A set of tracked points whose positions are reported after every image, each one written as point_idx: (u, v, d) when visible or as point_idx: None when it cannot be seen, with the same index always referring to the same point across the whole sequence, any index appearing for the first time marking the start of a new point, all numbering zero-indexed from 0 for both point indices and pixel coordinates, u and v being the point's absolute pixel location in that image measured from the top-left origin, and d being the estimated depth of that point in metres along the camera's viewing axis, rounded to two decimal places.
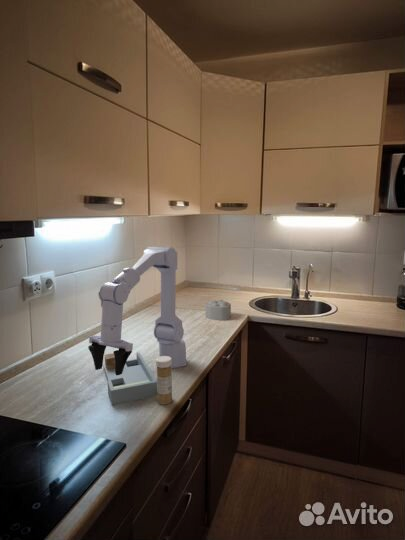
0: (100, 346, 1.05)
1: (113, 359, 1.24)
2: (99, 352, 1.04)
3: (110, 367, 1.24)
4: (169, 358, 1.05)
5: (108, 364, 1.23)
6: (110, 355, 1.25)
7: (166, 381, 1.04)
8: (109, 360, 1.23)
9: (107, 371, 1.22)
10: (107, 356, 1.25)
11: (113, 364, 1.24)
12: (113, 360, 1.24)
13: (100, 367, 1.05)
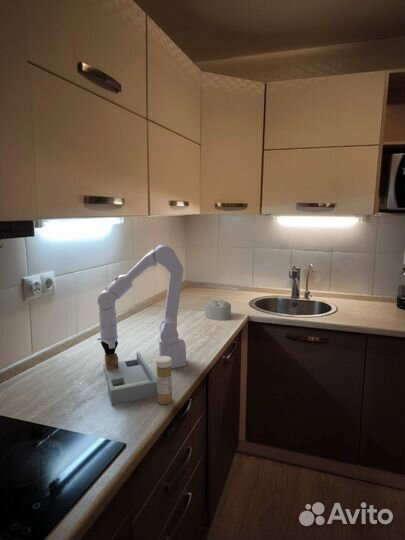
0: None
1: (113, 359, 1.24)
2: (108, 347, 1.28)
3: (110, 367, 1.24)
4: (169, 358, 1.05)
5: (108, 364, 1.23)
6: (110, 356, 1.25)
7: (166, 381, 1.04)
8: (109, 360, 1.23)
9: (107, 371, 1.22)
10: (107, 357, 1.24)
11: (113, 364, 1.24)
12: (113, 360, 1.24)
13: None
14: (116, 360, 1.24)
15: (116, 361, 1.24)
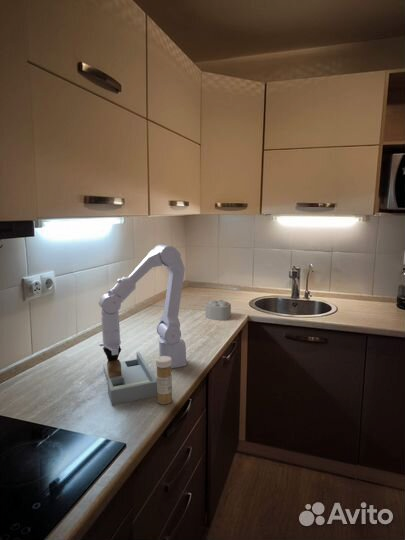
0: None
1: (116, 366, 1.18)
2: (111, 353, 1.22)
3: (113, 375, 1.18)
4: (169, 358, 1.05)
5: (110, 371, 1.18)
6: (112, 362, 1.20)
7: (166, 381, 1.04)
8: (112, 367, 1.18)
9: (107, 371, 1.22)
10: (109, 363, 1.19)
11: (116, 372, 1.18)
12: (116, 367, 1.18)
13: None
14: (119, 367, 1.18)
15: (119, 368, 1.19)
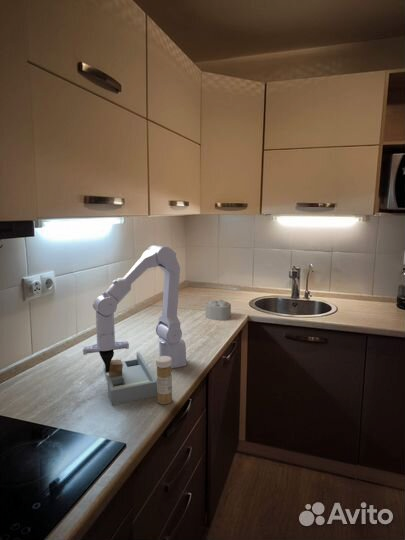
0: None
1: (117, 366, 1.18)
2: None
3: (113, 374, 1.18)
4: (169, 358, 1.05)
5: (111, 370, 1.18)
6: (114, 362, 1.20)
7: (166, 381, 1.04)
8: (113, 366, 1.18)
9: None
10: (111, 362, 1.19)
11: (117, 371, 1.18)
12: (117, 367, 1.18)
13: None
14: (120, 367, 1.19)
15: (120, 368, 1.19)
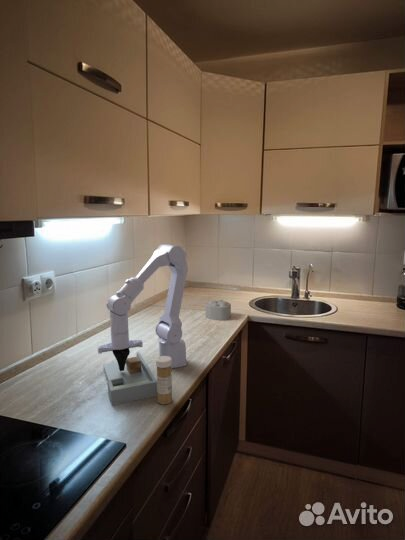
0: (121, 351, 1.20)
1: (136, 363, 1.21)
2: (121, 355, 1.21)
3: (133, 371, 1.21)
4: (169, 358, 1.05)
5: (131, 368, 1.20)
6: (132, 359, 1.22)
7: (166, 381, 1.04)
8: (132, 364, 1.20)
9: (107, 371, 1.22)
10: (129, 360, 1.21)
11: (136, 368, 1.21)
12: (136, 364, 1.21)
13: None
14: (139, 363, 1.21)
15: (139, 364, 1.21)
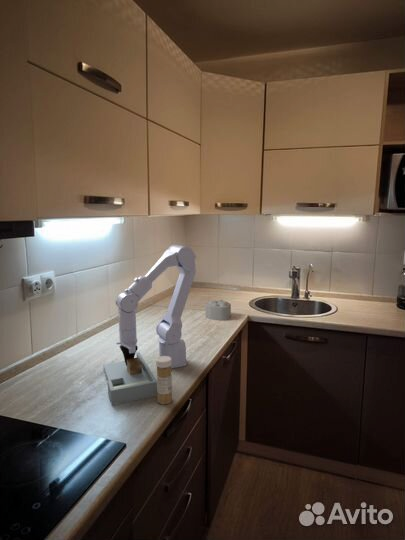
0: None
1: (137, 364, 1.20)
2: None
3: (133, 372, 1.20)
4: (169, 358, 1.05)
5: (131, 369, 1.19)
6: (132, 360, 1.21)
7: (166, 381, 1.04)
8: (133, 365, 1.19)
9: (107, 371, 1.22)
10: (130, 361, 1.21)
11: (137, 369, 1.20)
12: (137, 365, 1.20)
13: None
14: (140, 364, 1.20)
15: (139, 365, 1.20)
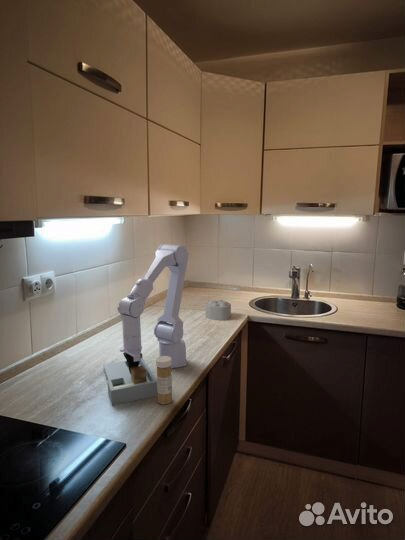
0: None
1: (141, 372, 1.14)
2: None
3: (138, 381, 1.13)
4: (169, 358, 1.05)
5: (135, 378, 1.13)
6: (137, 368, 1.15)
7: (166, 381, 1.04)
8: (137, 374, 1.13)
9: (107, 371, 1.22)
10: (134, 370, 1.14)
11: (141, 378, 1.14)
12: (141, 373, 1.14)
13: None
14: (144, 373, 1.14)
15: (144, 374, 1.14)
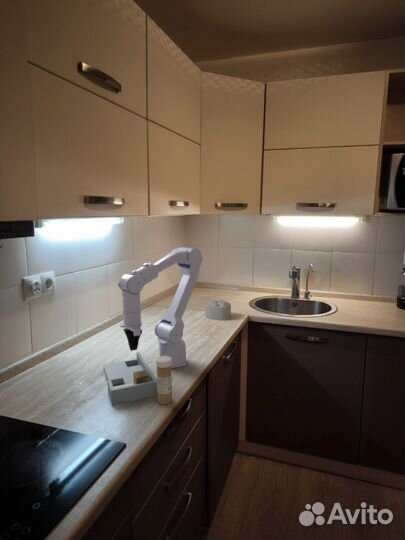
0: None
1: (144, 378, 1.10)
2: None
3: None
4: (169, 358, 1.05)
5: (138, 383, 1.10)
6: (139, 373, 1.12)
7: (166, 381, 1.04)
8: (139, 379, 1.10)
9: (107, 371, 1.22)
10: (136, 374, 1.11)
11: None
12: (144, 379, 1.10)
13: None
14: (147, 378, 1.11)
15: (147, 379, 1.11)
